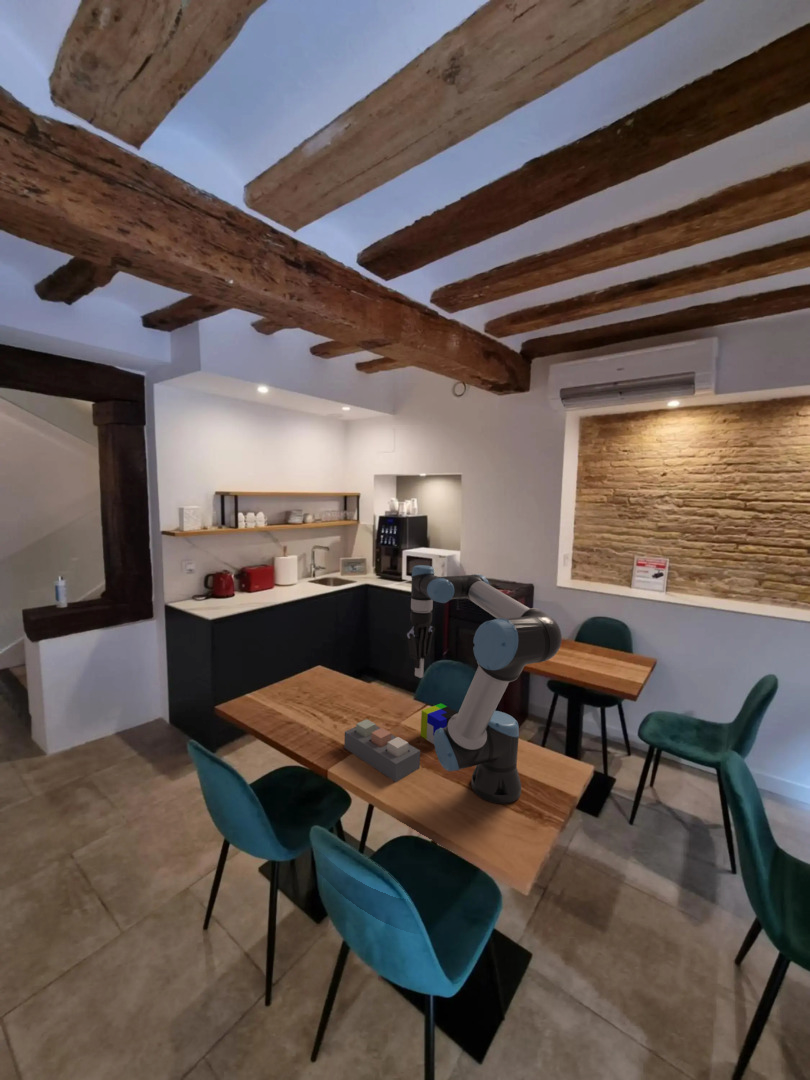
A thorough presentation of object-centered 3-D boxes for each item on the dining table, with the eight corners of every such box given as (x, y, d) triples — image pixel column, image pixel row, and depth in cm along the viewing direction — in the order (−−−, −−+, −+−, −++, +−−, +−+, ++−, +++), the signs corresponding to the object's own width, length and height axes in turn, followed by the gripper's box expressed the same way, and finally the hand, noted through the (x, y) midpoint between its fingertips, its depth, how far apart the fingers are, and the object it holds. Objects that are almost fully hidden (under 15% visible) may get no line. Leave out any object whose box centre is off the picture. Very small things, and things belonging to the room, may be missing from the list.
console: (419, 767, 149) (420, 750, 149) (395, 782, 142) (396, 764, 141) (368, 736, 168) (368, 721, 167) (344, 747, 160) (344, 731, 159)
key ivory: (407, 764, 149) (408, 742, 148) (397, 770, 145) (397, 748, 145) (397, 758, 152) (398, 736, 151) (386, 763, 149) (387, 742, 148)
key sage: (375, 744, 160) (375, 724, 159) (364, 749, 157) (365, 728, 156) (366, 739, 163) (366, 719, 163) (355, 743, 160) (356, 723, 159)
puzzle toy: (439, 748, 162) (440, 721, 161) (420, 736, 169) (421, 710, 168) (458, 739, 168) (459, 713, 167) (439, 727, 176) (440, 703, 175)
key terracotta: (390, 754, 154) (391, 733, 154) (380, 759, 151) (380, 738, 150) (381, 748, 158) (381, 727, 157) (370, 753, 154) (371, 732, 154)
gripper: (426, 605, 164) (423, 668, 166) (400, 611, 154) (398, 677, 157) (441, 609, 158) (439, 674, 161) (416, 615, 149) (413, 684, 151)
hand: (419, 676), depth 159 cm, fingers closed
